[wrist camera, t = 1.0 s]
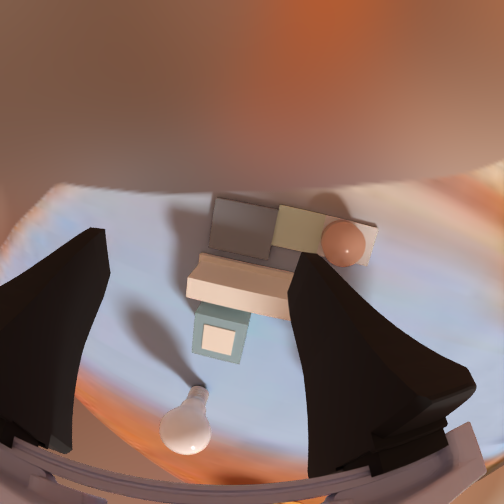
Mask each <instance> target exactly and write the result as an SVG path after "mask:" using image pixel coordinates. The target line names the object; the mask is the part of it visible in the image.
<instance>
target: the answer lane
mask: <svg viewBox="0 0 504 504" xmlns="http://www.w3.org/2000/svg"><path fill="white" fill-rule="evenodd" d="M336 220H345V219H341V218H337V217H333V216H329V215H324V214H320V213H316V212H312V211H307V210H303V209H299V208H294V207H289V206H285V205H280V206H279V211H278V215H277V220H276V225H275V229H274V234H273V239H272V243H271V245H273V246H278V247H283V248H287V249H292V250H297V251H301V252H309V253H317V254H318V255H319V256H324V257H326V256H325V254H324V252H323V249H322V246H321V235H322V232H323V230H324V229H325V227H326V226H327V225H328V224H330V223H331V222H333V221H336ZM347 221H349V220H347ZM349 222H351V223H353V224H354V225H355V226H356V227H357V228H358V229H359V230H360V231H361V232H362V234H363V235H364V238H365V242H366V247H365V251H364V254H363V256H362V257H361V259H360V260H359V261H358V262H356V263H355V264H359V265H364V266H367V265H368V262H369V259H370V256H371V252H372V249H373V246H374V243H375V239H376V236H377V232H378V228H376V227H372V226H368V225H365V224H361V223H357V222H353V221H349Z"/></svg>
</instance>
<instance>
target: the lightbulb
mask: <svg viewBox="0 0 504 504" xmlns="http://www.w3.org/2000/svg"><path fill="white" fill-rule="evenodd" d="M208 397H209V392H208V391H207V390H206V389H205V388H203V387H201V386H193V387H192V388H191V389H190V392H189V394H188V396H187V399H186V400H184V401H183V402H182V404H181V405H180V406H178V407H176V408H174V409H172V410H170V411H168V412H167V413H166V414H165V415H164V416H163V417H162V419H161V421H160V424H159V434H160V437H161V439H162V441H163V443H164V444H165V445H166V446H167V447H168V448H169V449H170V450H172V451H174V452H176V453H179V454H183V455H191V454H196V453H198V452H200V451H202V450H203V449H204V448H205V447H206V446H207V445H208V443H209V441H210V439H211V427H210V424H209V421H208V419H207V417H206V407H205V406H206V402H207V400H208Z"/></svg>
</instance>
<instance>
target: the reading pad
mask: <svg viewBox="0 0 504 504" xmlns="http://www.w3.org/2000/svg"><path fill="white" fill-rule="evenodd" d="M278 211H279V209H274V208H269V207H265V206H260V205H255V204H250V203H245V202H240V201H235V200H229V199H224V198H219V197H217V198H216V200H215V206H214V212H213V219H212V226H211V232H210V239H209V246H208V247H209V248H213V249H218V250H222V251H227V252H231V253H236V254H241V255H245V256H250V257H254V258H259V259H264V260H268V257H269V253H270V248H271V243H272V239H273V234H274V229H275V225H276V220H277V215H278Z"/></svg>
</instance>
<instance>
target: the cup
mask: <svg viewBox="0 0 504 504" xmlns="http://www.w3.org/2000/svg"><path fill="white" fill-rule="evenodd" d="M276 504H303V503H300V502H295V501H292V502H285V503H276Z"/></svg>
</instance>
